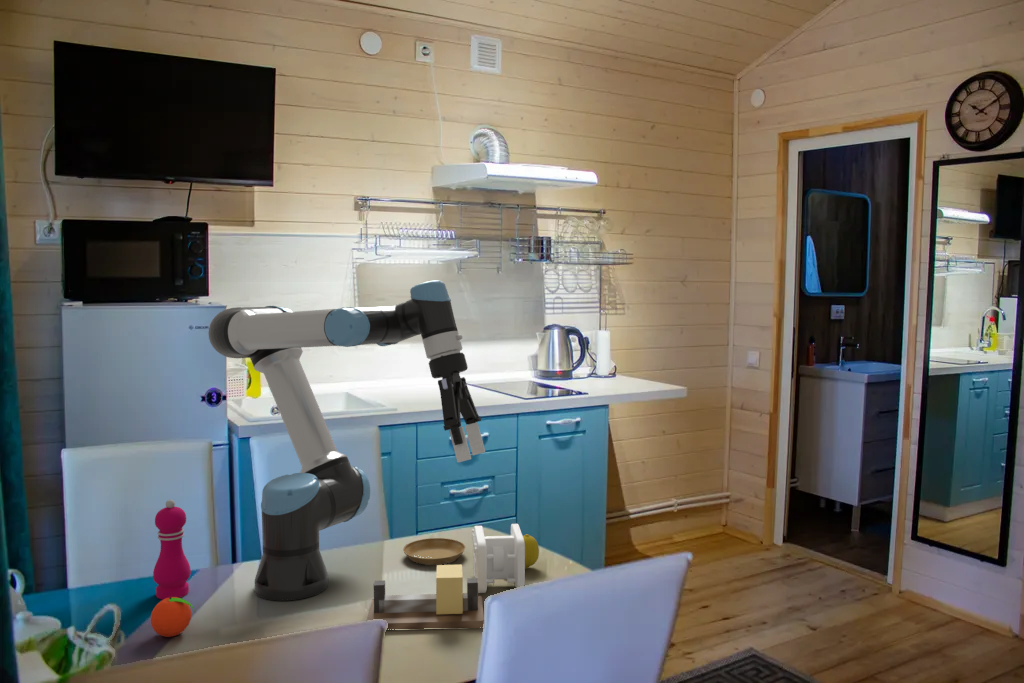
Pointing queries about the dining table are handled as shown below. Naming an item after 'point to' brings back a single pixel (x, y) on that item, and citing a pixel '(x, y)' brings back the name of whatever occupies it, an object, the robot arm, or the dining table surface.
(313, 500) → the robot arm
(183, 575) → the pepper mill
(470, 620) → the rail board
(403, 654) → the dining table surface
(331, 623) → the dining table surface
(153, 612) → the clementine
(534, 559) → the lemon
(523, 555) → the cable organizer
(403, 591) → the dining table surface
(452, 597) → the slider
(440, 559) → the plant saucer
